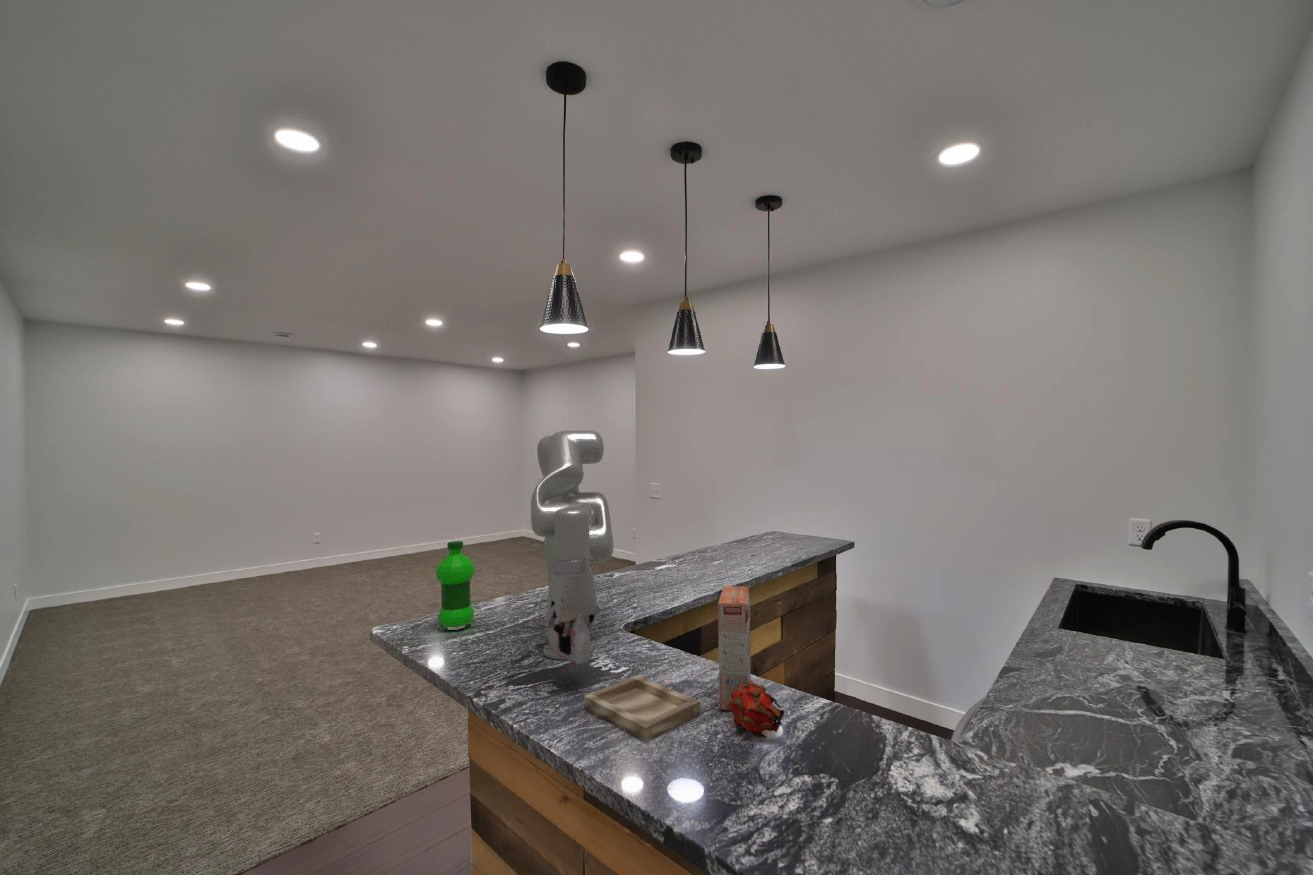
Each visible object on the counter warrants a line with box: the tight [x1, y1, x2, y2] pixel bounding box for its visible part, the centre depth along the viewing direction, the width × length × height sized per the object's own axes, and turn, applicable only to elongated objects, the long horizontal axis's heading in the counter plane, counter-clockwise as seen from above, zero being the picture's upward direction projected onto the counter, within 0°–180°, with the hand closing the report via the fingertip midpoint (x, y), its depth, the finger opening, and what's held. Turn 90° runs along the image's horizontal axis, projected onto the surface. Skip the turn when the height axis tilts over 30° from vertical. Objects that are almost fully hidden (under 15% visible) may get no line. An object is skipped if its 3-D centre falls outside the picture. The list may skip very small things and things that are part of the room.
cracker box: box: [717, 585, 752, 711], centre depth 114 cm, size 14×6×21 cm, turn 168°
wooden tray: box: [583, 675, 701, 743], centre depth 108 cm, size 18×14×2 cm
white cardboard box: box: [558, 614, 591, 666], centre depth 120 cm, size 4×7×10 cm, turn 44°
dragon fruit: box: [726, 680, 785, 739], centre depth 100 cm, size 8×8×12 cm
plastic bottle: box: [435, 540, 476, 628], centre depth 163 cm, size 10×10×25 cm
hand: (573, 649), depth 120 cm, fingers closed on white cardboard box, 3 cm apart
